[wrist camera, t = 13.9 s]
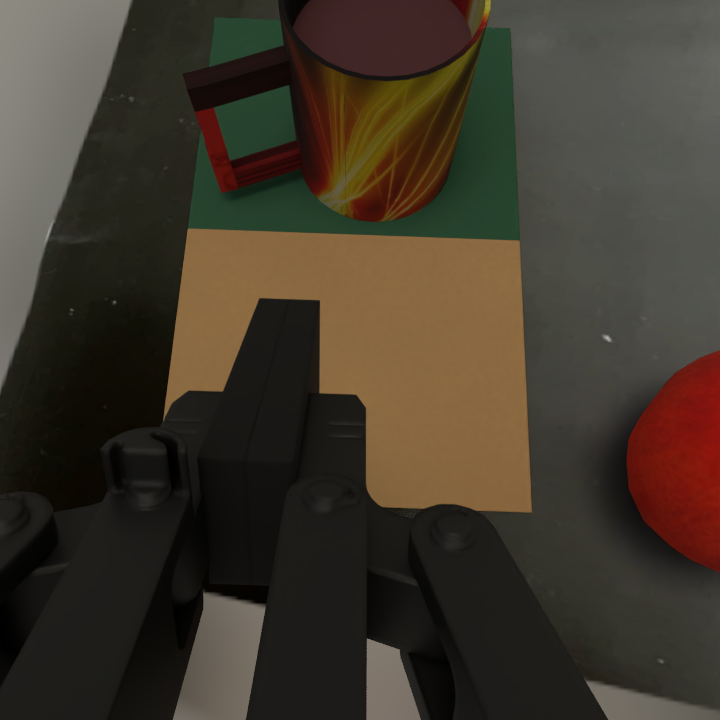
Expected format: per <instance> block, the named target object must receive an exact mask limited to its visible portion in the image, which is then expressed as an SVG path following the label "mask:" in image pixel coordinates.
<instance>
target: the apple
mask: <svg viewBox="0 0 720 720" xmlns="http://www.w3.org/2000/svg"><path fill="white" fill-rule="evenodd" d="M627 474H628V486H629V491H630V493H631V495H632V497H633V499H634V501H635V504H636V506H637V508H638V510H639V512H640V514H641V516H642V519H643V521H644V522H645V523H646V524H647V525H648V526H650V527H651V528H652V529H653V530H654V531H655V532H656V533H657V534H658V535H659V536H660V537H661V538H662V539H663V540H664V541H666V542H667V543H668V544H669V545H670V546H671V547H673V548H674V549H675V550H677V551H678V552H680V553H681V554H683V555H684V556H686V557H687V558H689V559H690V560H692V561H694V562H696V563H699V564H701V565H703V566H706V567H708V568H710V569H712V570H715V571H717V572H720V351H717V352H714V353H711V354H709V355H706V356H704V357H701V358H699V359H697V360H696V361H694V362H692V363H691V364H689V365H687V366H686V367H684V368H682V369H681V370H679V371H678V372H676V373H675V374H674V375H673V376H672V377H671V378H670V379H669V380H668V381H667V382H666V383H665V385H664V386H663V387H662V389H661V390H660V391H659V393H658V394H657V395H656V396H655V398H654V399H653V400H652V402H651V403H650V404H649V405H648V407H647V408H646V409H645V411H644V412H643V413H642V415H641V416H640V418H639V420H638V422H637V424H636V425H635V427H634V429H633V431H632V433H631V435H630V437H629V443H628V451H627Z"/></svg>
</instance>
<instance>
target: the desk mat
mask: <svg viewBox="0 0 720 720" xmlns="http://www.w3.org/2000/svg"><path fill="white" fill-rule="evenodd" d="M283 45H284V43H283V35H282V28H281V20H265V19H238V18H215V22H214V29H213V37H212V45H211V53H210V61H209V67H211V66H214V65H218V64H221V63H224V62H228V61H231V60H235V59H238V58H242V57H245V56H248V55H252V54H255V53H259V52H262V51H266V50H269V49H272V48H276V47H279V46H283ZM214 110H215V113H216V116H217V119H218V123H219V126H220V129H221V133H222V136H223V139H224V142H225V146H226V149H227V152H228V156H229V159H230V161H231V160H234V159H237V158H241V157H244V156H247V155H250V154H253V153H257V152H260V151H263V150H266V149H269V148H273V147H276V146H279V145H282V144H286V143H289V142H292V141H295V140H296V134H295V127H294V119H293V112H292V104H291V96H290V89H289V85H288V86H284V87H281V88H278V89H274V90H271V91H268V92H264V93H261V94H258V95H254V96H251V97H248V98H244V99H241V100H238V101H234V102H231V103H228V104H224V105H221V106H218V107H214ZM204 141H205V139H204V137H203V134H202V131H200V139H199V146H198V154H197V162H196V170H195V178H194V185H193V193H192V201H191V209H190V217H189V224H188V232H187V240H186V248H185V256H184V263H183V271H182V279H181V287H180V295H179V302H178V310H177V318H176V326H175V334H174V341H173V349H172V357H171V365H170V373H169V380H168V388H167V396H166V404H165V412H164V419H163V421H164V420H165V416H166V414H167V412H168V410H169V408H170V406H171V404H172V403H173V402H174V401H175V400H177V399H178V398H179V397H181V396H182V395H183V394H185V393H186V392H187V391H188V390H192V391H220V392H223V390H224V387H225V385H226V382H227V380H228V377H229V375H230V372H231V369H232V367H233V364H234V362H235V359H236V357H237V354H238V351H239V349H240V346H241V344H242V341H243V339H244V336H245V334H246V331H247V328H248V326H249V323H250V321H251V318H252V316H253V313H254V310H255V308H256V305H257V303H258V300H259V298H272V299H300V300H320V388H319V393H327V394H356V395H357V396H358V398H359V399H360V400H361V402H362V403H363V404H364V406H365V407H366V486H367V491H368V493H369V494H370V496H371V498H372V499H373V500H374V501H375V502H376V503H377V504H378V505H379V506H381V507H389V508H416V509H424V508H427V507H430V506H434V505H437V504H456V505H460V506H464V507H468V508H471V509H473V510H475V511H500V512H528V513H532V506H531V483H530V461H529V439H528V416H527V394H526V372H525V350H524V327H523V305H522V283H521V260H520V238H519V216H518V193H517V171H516V149H515V126H514V104H513V82H512V60H511V37H510V29H509V28H486V30H485V34H484V38H483V42H482V46H481V50H480V54H479V58H478V62H477V66H476V69H475V73H474V77H473V81H472V85H471V89H470V93H469V97H468V101H467V105H466V109H465V113H464V117H463V121H462V125H461V129H460V133H459V137H458V141H457V145H456V149H455V153H454V157H453V161H452V165H451V168H450V172H449V175H448V179H447V181H446V183H445V184H444V186H443V188H442V190H441V192H440V193H439V194H438V195H437V196H436V197H435V198H434V199H433V201H432V202H430V203H429V204H428V205H426V206H425V207H424V208H422V209H421V210H420V211H418V212H416V213H413V214H411V215H409V216H407V217H404V218H400V219H397V220H393V221H384V222H368V221H360V220H356V219H352V218H348V217H345V216H343V215H341V214H339V213H337V212H335V211H333V210H331V209H330V208H328V207H327V206H326V205H324V204H323V203H322V202H320V201H319V200H318V198H317V197H316V196H315V195H314V194H313V193H312V192H311V191H310V189H309V187H308V186H307V184H306V182H305V181H304V178H303V175H302V172H301V169H299V170H296V171H292V172H289V173H286V174H283V175H280V176H277V177H273V178H270V179H267V180H264V181H261V182H258V183H255V184H251V185H248V186H245V187H242V188H239V189H236V190H232V191H229V192H225V193H221V191H220V188H219V185H218V182H217V179H216V176H215V174H214V171H213V168H212V165H211V162H210V159H209V157H208V153H207V150H206V146H205V143H204Z"/></svg>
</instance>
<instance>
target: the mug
mask: <svg viewBox="0 0 720 720" xmlns="http://www.w3.org/2000/svg"><path fill="white" fill-rule="evenodd" d="M278 3H279V13H280V20H281V28H282V35H283V43H284V45H283V46H279V47H276V48H272V49H269V50H266V51H262V52H259V53H255V54H252V55H248V56H245V57H242V58H238V59H235V60H231V61H228V62H224V63H221V64H218V65H214V66H211V67H207V68H204V69H200V70H196V71H192V72H188V73H184V74H183V77H184V80H185V84H186V87H187V91H188V94H189V96H190V99H191V102H192V105H193V108H194V111H195V114H196V117H197V119H198V122H199V125H200V128H201V131H202V134H203V137H204V139H205V141H204V143H205V146H206V150H207V153H208V157H209V159H210V162H211V165H212V168H213V171H214V174H215V176H216V179H217V182H218V185H219V188H220V191H221V193H225V192H229V191H232V190H236V189H239V188H242V187H245V186H248V185H251V184H255V183H258V182H261V181H264V180H267V179H270V178H273V177H277V176H280V175H283V174H286V173H289V172H292V171H296V170H299V169H301V172H302V175H303V178H304V181H305V182H306V184H307V186H308V187H309V189H310V191H311V192H312V193H313V194H314V195H315V196H316V197H317V198H318V200H319V201H320V202H322V203H323V204H324V205H326V206H327V207H328V208H330V209H331V210H333V211H335V212H337V213H339V214H341V215H343V216H345V217H348V218H352V219H356V220H360V221H368V222H384V221H393V220H397V219H400V218H404V217H407V216H409V215H411V214H413V213H416V212H418V211H420V210H421V209H422V208H424V207H425V206H426V205H428V204H429V203H430V202H432V201H433V199H434V198H435V197H436V196H437V195H438V194H439V193H440V192H441V190H442V188H443V186H444V184H445V183H446V181H447V179H448V175H449V172H450V168H451V165H452V161H453V157H454V153H455V149H456V145H457V141H458V137H459V133H460V129H461V125H462V121H463V117H464V113H465V109H466V105H467V101H468V97H469V93H470V89H471V85H472V81H473V77H474V73H475V69H476V66H477V62H478V58H479V54H480V50H481V46H482V42H483V38H484V34H485V30H486V26H487V22H488V18H489V14H490V10H491V0H278ZM288 85H289V89H290V96H291V104H292V112H293V119H294V127H295V134H296V140H295V141H292V142H289V143H286V144H282V145H279V146H276V147H273V148H269V149H266V150H263V151H260V152H257V153H253V154H250V155H247V156H244V157H241V158H237V159H234V160H231V161H230V159H229V156H228V152H227V149H226V146H225V142H224V139H223V136H222V133H221V129H220V126H219V123H218V119H217V116H216V113H215V110H214V107H218V106H221V105H224V104H228V103H231V102H234V101H238V100H241V99H244V98H248V97H251V96H254V95H258V94H261V93H264V92H268V91H271V90H274V89H278V88H281V87H284V86H288Z"/></svg>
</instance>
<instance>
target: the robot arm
mask: <svg viewBox="0 0 720 720" xmlns="http://www.w3.org/2000/svg"><path fill="white" fill-rule="evenodd" d="M319 388H320V300H300V299H272V298H259V300H258V303H257V305H256V308H255V310H254V313H253V316H252V318H251V321H250V323H249V326H248V328H247V331H246V334H245V336H244V339H243V341H242V344H241V346H240V349H239V351H238V354H237V357H236V359H235V362H234V364H233V367H232V369H231V372H230V375H229V377H228V380H227V382H226V385H225V387H224V390H223V392H220V391H192V390H188V391H187V392H186V393H185V394H183V395H182V396H181V397H179V398H178V399H177V400H175V401H174V402H173V403H172V404H171V406H170V408H169V410H168V412H167V414H166V416H165V420H164V421H163V422H162V424H161V426H160V428H159V427H147V428H137V429H134V430H130V431H127V432H123V433H121V434H119V435H117V436H116V437H114V438H112V439H110V440H109V441H108V442H107V443H106V444H105V445H104V446H103V447H102V448H101V449H100V451H101V457H102V462H103V467H104V473H105V478H106V483H107V489H108V492H107V494H106V496H105V498H104V499H103V501H102V502H100V503H97V504H93V505H89V506H86V507H81V508H75V509H70V510H64V511H59V512H53V509H52V505H51V504H50V503H49V501H48V500H47V498H46V497H43V496H41V495H39V494H36V493H33V492H13V493H8V494H2V495H0V720H173V716H174V713H175V709H176V705H177V702H178V698H179V695H180V691H181V687H182V684H183V680H184V676H185V673H186V669H187V665H188V662H189V658H190V655H191V651H192V647H193V644H194V640H195V636H196V633H197V629H198V626H199V622H200V618H201V615H202V611H203V590H202V582H203V578H204V575H205V571H206V568H207V565H208V569H209V579H210V584H233V585H264V586H270V587H269V592H268V598H267V604H266V609H265V616H264V622H263V626H262V632H261V638H260V644H259V649H258V656H257V661H256V666H255V672H254V677H253V684H252V689H251V694H250V700H249V706H248V712H247V717H246V720H366V667H367V666H366V664H367V662H366V661H367V657H366V656H367V651H366V650H367V648H366V647H367V643H366V642H367V638H368V639H371V640H374V641H377V642H379V643H383V644H385V645H388V646H391V647H394V648H397V649H400V656H401V659H402V662H403V665H404V669H405V672H406V675H407V678H408V681H409V684H410V687H411V690H412V693H413V696H414V699H415V702H416V705H417V708H418V712H419V714H420V718H421V720H608V719H607V717H606V715H605V714H604V712H603V710H602V709H601V707H600V705H599V703H598V702H597V700H596V698H595V697H594V695H593V693H592V692H591V690H590V688H589V687H588V685H587V683H586V681H585V680H584V678H583V676H582V675H581V673H580V671H579V670H578V668H577V666H576V665H575V663H574V661H573V659H572V658H571V656H570V654H569V653H568V651H567V649H566V648H565V646H564V644H563V643H562V641H561V639H560V638H559V636H558V634H557V632H556V631H555V629H554V627H553V626H552V624H551V622H550V621H549V619H548V617H547V616H546V614H545V612H544V610H543V609H542V607H541V605H540V604H539V602H538V600H537V599H536V597H535V595H534V594H533V592H532V590H531V589H530V587H529V585H528V583H527V582H526V580H525V578H524V577H523V575H522V573H521V572H520V570H519V568H518V567H517V565H516V563H515V561H514V560H513V558H512V556H511V555H510V553H509V551H508V550H507V548H506V546H505V545H504V543H503V541H502V540H501V538H500V536H499V534H498V533H497V531H496V529H495V528H494V526H493V525H492V524H491V523H490V522H489V521H488V520H487V518H486V517H485V516H483V515H482V514H480V513H478V512H476V511H475V510H473V509H471V508H468V507H464V506H460V505H456V504H437V505H434V506H430V507H427V508H424V509H423V510H422V511H421V512H419V513H418V514H417V515H415V517H414V519H411V518H408V517H404V516H400V515H398V514H395V513H392V512H390V511H388V510H386V509H384V508H383V507H381V506H379V505H378V504H377V503H376V502H375V501H374V500H373V499H372V498H371V496H370V494H369V493H368V491H367V486H366V407H365V406H364V404H363V403H362V402H361V400H360V399H359V398H358V396H357V395H356V394H327V393H319Z"/></svg>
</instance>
